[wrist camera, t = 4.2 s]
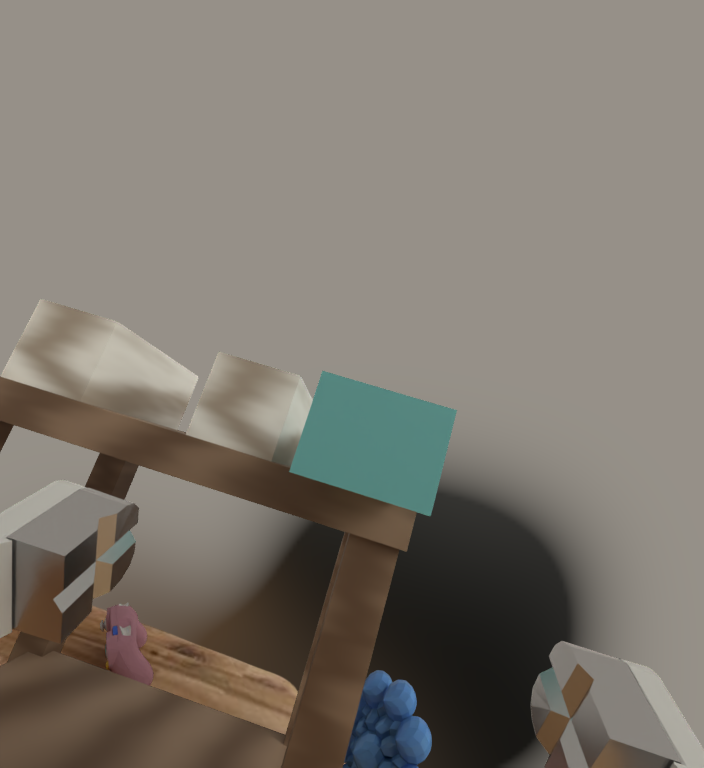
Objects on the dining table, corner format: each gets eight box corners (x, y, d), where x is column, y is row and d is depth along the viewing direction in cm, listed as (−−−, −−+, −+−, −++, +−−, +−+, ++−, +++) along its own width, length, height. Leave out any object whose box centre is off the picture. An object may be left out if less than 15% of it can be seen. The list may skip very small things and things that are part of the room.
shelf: (293, 836, 31) (401, 441, 38) (214, 1304, 13) (443, 407, 20) (-3, 723, 33) (152, 366, 39) (-418, 1004, 15) (-7, 274, 22)
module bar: (377, 492, 34) (387, 458, 35) (430, 516, 11) (456, 410, 12) (332, 478, 34) (342, 444, 35) (288, 471, 11) (322, 370, 12)
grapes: (446, 905, 29) (483, 719, 32) (369, 923, 26) (416, 717, 29) (365, 777, 39) (398, 644, 42) (303, 780, 37) (343, 637, 39)
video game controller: (104, 657, 48) (98, 598, 48) (147, 641, 50) (141, 585, 50) (103, 711, 40) (96, 640, 40) (155, 689, 42) (148, 621, 42)
